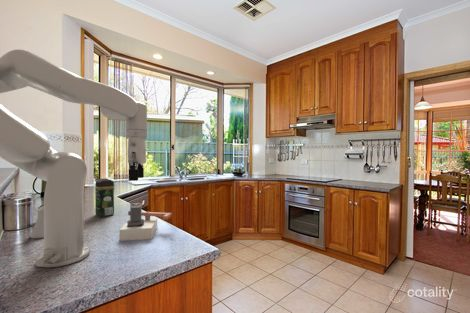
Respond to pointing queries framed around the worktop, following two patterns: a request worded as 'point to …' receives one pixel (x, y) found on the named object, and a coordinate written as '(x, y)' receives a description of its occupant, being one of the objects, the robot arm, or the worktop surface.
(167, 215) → the clip
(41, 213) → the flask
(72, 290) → the worktop surface
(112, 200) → the coffee jar
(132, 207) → the plug
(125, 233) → the socket block
